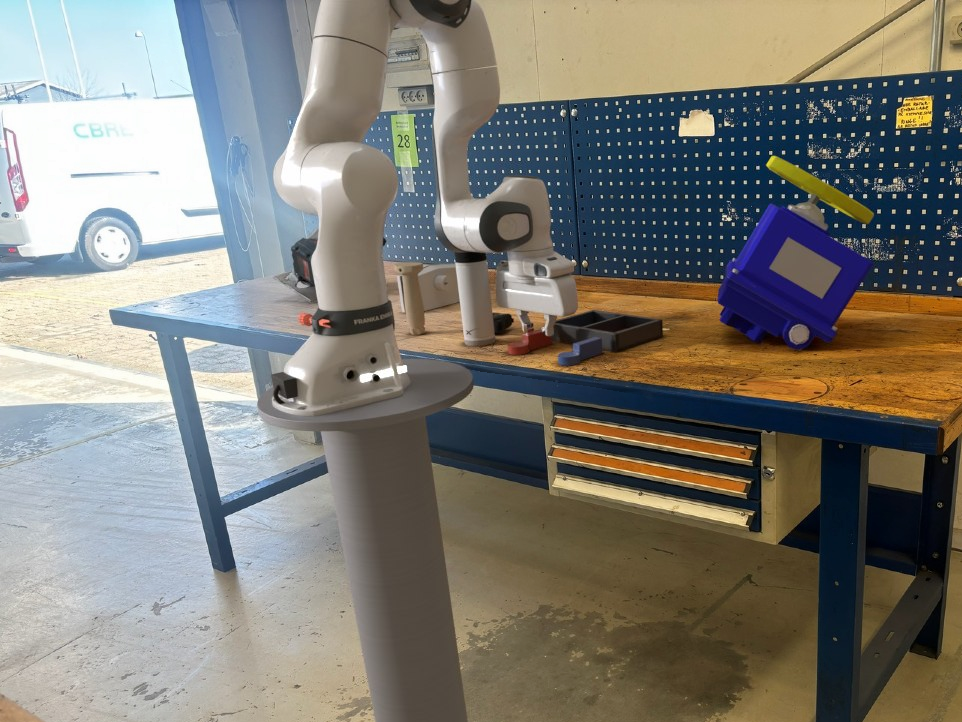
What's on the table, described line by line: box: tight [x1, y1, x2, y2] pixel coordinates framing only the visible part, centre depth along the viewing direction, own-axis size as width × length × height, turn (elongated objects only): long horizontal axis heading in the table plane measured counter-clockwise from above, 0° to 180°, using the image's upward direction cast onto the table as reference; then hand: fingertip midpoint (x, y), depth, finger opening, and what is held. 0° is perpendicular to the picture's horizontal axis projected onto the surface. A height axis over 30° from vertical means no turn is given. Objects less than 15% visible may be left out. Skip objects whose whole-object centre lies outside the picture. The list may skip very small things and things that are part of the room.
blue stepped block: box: [557, 337, 603, 367], centre depth 157 cm, size 10×4×3 cm, turn 137°
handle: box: [393, 261, 426, 336], centre depth 183 cm, size 5×6×15 cm
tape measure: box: [492, 312, 515, 334], centre depth 182 cm, size 7×7×4 cm
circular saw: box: [272, 227, 387, 303], centre depth 233 cm, size 21×36×25 cm
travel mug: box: [453, 252, 496, 347], centre depth 171 cm, size 6×7×20 cm
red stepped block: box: [507, 328, 552, 356], centre depth 167 cm, size 10×4×3 cm, turn 137°
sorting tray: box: [551, 309, 664, 353], centre depth 171 cm, size 14×19×4 cm
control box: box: [717, 155, 875, 351], centre depth 162 cm, size 26×27×30 cm
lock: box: [396, 263, 460, 314], centre depth 211 cm, size 19×9×10 cm, turn 143°
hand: (538, 333), depth 168 cm, fingers open, 4 cm apart
